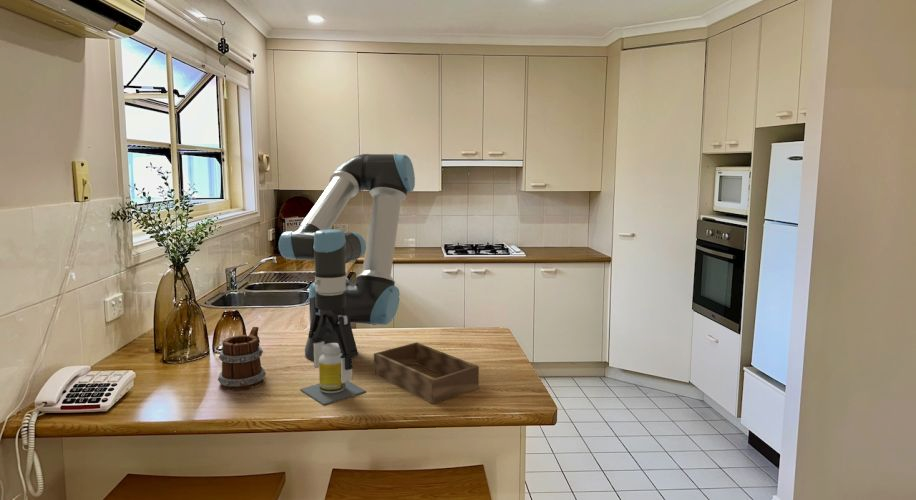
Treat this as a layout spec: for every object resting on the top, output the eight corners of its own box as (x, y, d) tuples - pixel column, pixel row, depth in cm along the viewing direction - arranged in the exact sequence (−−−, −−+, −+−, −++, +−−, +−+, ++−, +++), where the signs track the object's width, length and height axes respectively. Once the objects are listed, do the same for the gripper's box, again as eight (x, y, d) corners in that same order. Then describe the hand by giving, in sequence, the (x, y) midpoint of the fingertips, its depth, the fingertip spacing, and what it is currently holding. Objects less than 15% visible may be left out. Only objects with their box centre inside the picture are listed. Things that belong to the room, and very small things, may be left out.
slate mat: (300, 390, 142) (300, 388, 142) (341, 378, 150) (341, 377, 150) (323, 405, 133) (323, 403, 133) (366, 392, 141) (365, 390, 141)
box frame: (374, 374, 153) (373, 353, 152) (416, 361, 163) (416, 342, 162) (434, 404, 134) (434, 380, 133) (478, 388, 144) (478, 366, 143)
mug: (206, 390, 140) (209, 331, 141) (235, 379, 154) (237, 325, 155) (250, 393, 139) (252, 333, 139) (275, 381, 153) (277, 327, 154)
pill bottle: (339, 395, 138) (338, 350, 136) (315, 393, 139) (314, 348, 137) (349, 385, 144) (348, 342, 142) (326, 383, 145) (325, 340, 143)
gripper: (293, 285, 144) (296, 363, 147) (343, 303, 126) (345, 392, 129) (319, 282, 149) (321, 357, 152) (371, 298, 131) (372, 384, 134)
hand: (332, 373), depth 141 cm, fingers open, 13 cm apart
